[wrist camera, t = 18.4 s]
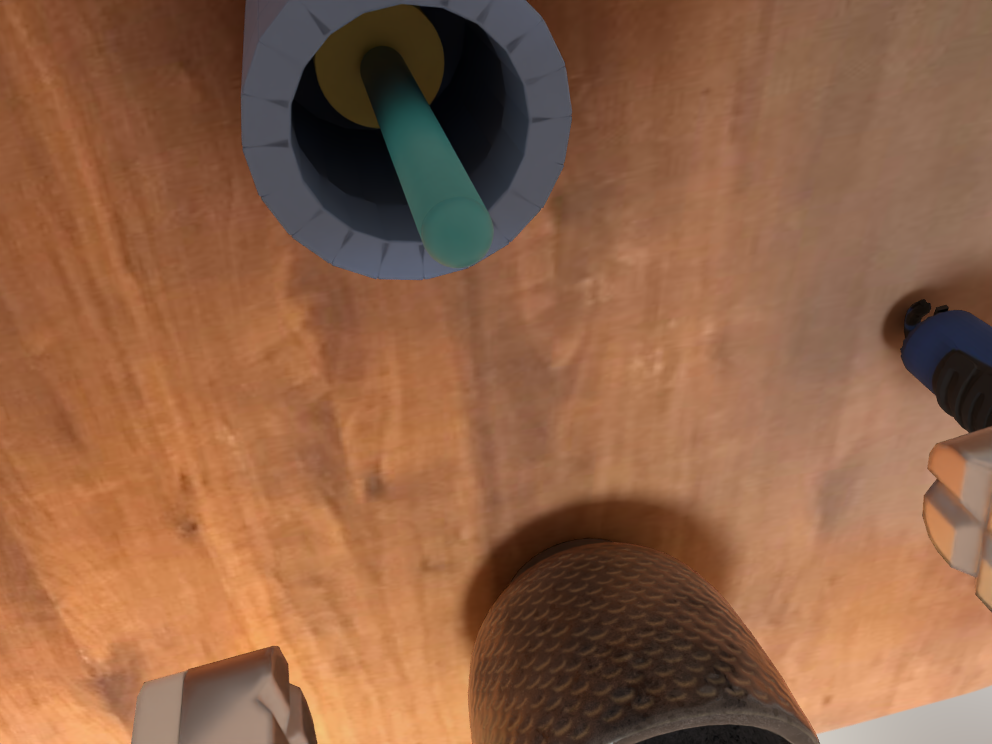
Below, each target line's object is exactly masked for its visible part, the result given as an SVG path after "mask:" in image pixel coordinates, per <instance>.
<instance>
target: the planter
mask: <svg viewBox="0 0 992 744" xmlns="http://www.w3.org/2000/svg"><path fill="white" fill-rule="evenodd" d="M468 707H469V718H470V729H471V739H472V744H820V742H819V740H818V737H817V735H816V733H815V731H814V729H813V727H812V726H811V724H810V722H809V720H808V719H807V717H806V716H805V714H804V713H803V711H802V709H801V708H800V706H799V705H798V703H797V701H796V700H795V698H794V696H793V695H792V693H791V691H790V689H789V688H788V686H787V684H786V683H785V681H784V679H783V678H782V676H781V675H780V673H779V672H778V670H777V669H776V667H775V666H774V665H773V663H772V662H771V660H770V659H769V657H768V656H767V654H766V653H765V652H764V650H763V649H762V647H761V646H760V644H759V643H758V642H757V640H756V639H755V637H754V636H753V635H752V633H751V632H750V630H749V629H748V628H747V627H746V625H745V624H744V623H743V621H742V620H741V619H740V618H739V616H738V615H737V614H736V612H735V611H734V610H733V608H732V607H731V606H730V605H729V603H728V602H727V601H726V600H725V599H724V598H723V596H722V595H721V594H720V593H719V592H718V591H717V590H716V589H715V588H714V587H713V586H712V585H711V584H709V583H708V582H707V581H706V580H705V579H704V578H703V577H701V576H700V575H699V574H698V573H697V572H696V571H694V570H693V569H692V568H690V567H689V566H688V565H686V564H684V563H683V562H681V561H679V560H677V559H676V558H674V557H672V556H670V555H668V554H666V553H663V552H660V551H657V550H654V549H651V548H648V547H645V546H640V545H635V544H628V543H615V542H612V541H609V540H603V539H578V540H572V541H568V542H564V543H561V544H558V545H555V546H553V547H551V548H549V549H547V550H545V551H543V552H541V553H540V554H538V555H536V556H535V557H534V558H532V559H531V560H530V561H529V562H527V563H526V564H525V565H524V566H523V567H522V568H521V569H520V570H519V571H518V573H517V574H516V575H515V577H514V578H513V580H512V581H511V583H510V585H509V586H508V587H507V588H506V589H505V590H504V591H503V592H502V593H501V595H500V596H499V597H498V599H497V600H496V601H495V603H494V604H493V605H492V607H491V608H490V610H489V612H488V613H487V615H486V617H485V619H484V621H483V623H482V625H481V627H480V629H479V632H478V635H477V638H476V642H475V645H474V649H473V652H472V657H471V663H470V675H469V688H468Z"/></svg>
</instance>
